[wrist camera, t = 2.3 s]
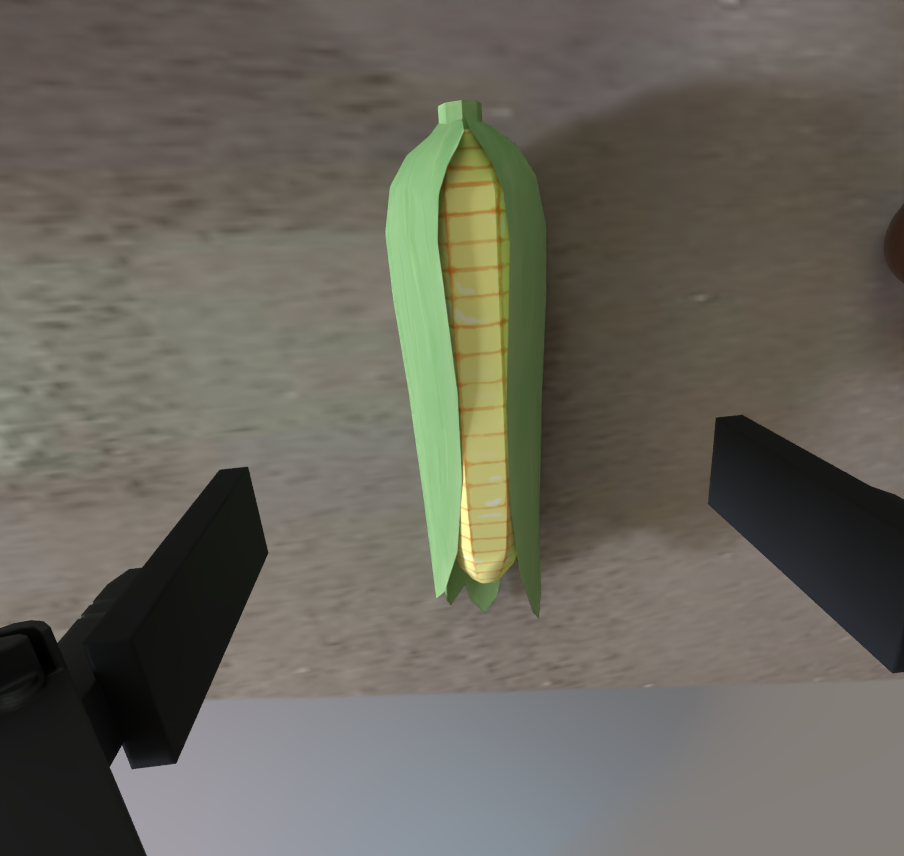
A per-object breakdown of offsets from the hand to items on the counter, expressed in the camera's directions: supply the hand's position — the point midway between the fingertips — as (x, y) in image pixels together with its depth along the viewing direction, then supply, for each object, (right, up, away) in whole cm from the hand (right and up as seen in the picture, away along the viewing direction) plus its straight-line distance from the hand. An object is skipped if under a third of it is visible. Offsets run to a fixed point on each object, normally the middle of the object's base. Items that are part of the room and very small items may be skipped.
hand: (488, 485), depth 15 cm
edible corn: (0, +3, +7) cm, 7 cm away
